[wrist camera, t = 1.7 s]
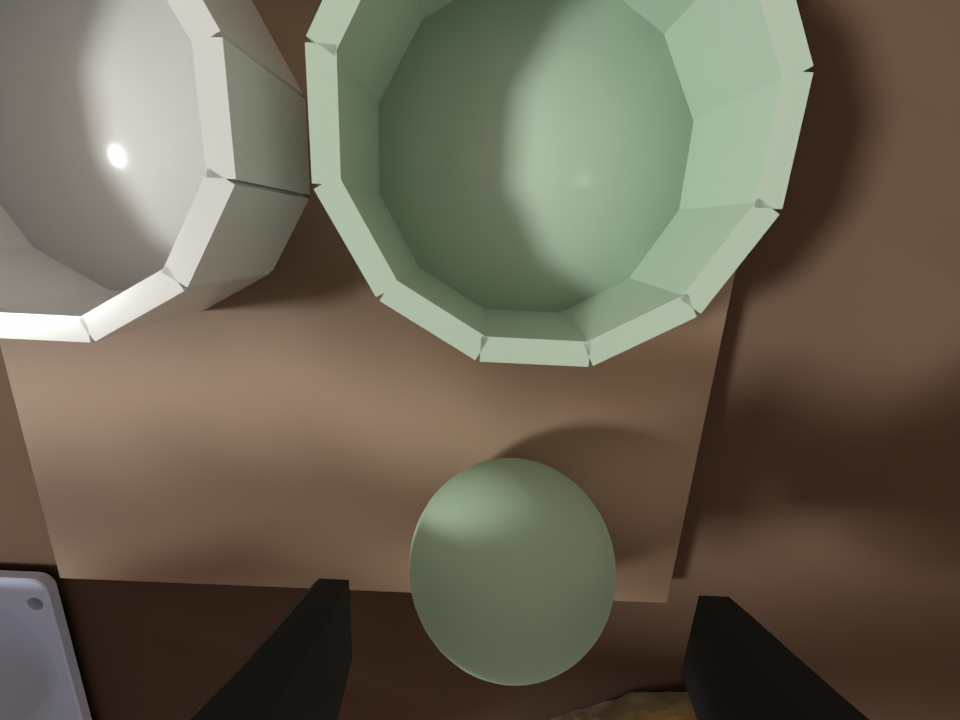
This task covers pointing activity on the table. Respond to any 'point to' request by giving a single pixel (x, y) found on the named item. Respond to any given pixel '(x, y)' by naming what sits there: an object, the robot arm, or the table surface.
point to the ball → (512, 571)
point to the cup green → (553, 160)
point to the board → (337, 425)
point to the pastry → (638, 708)
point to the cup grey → (140, 161)
